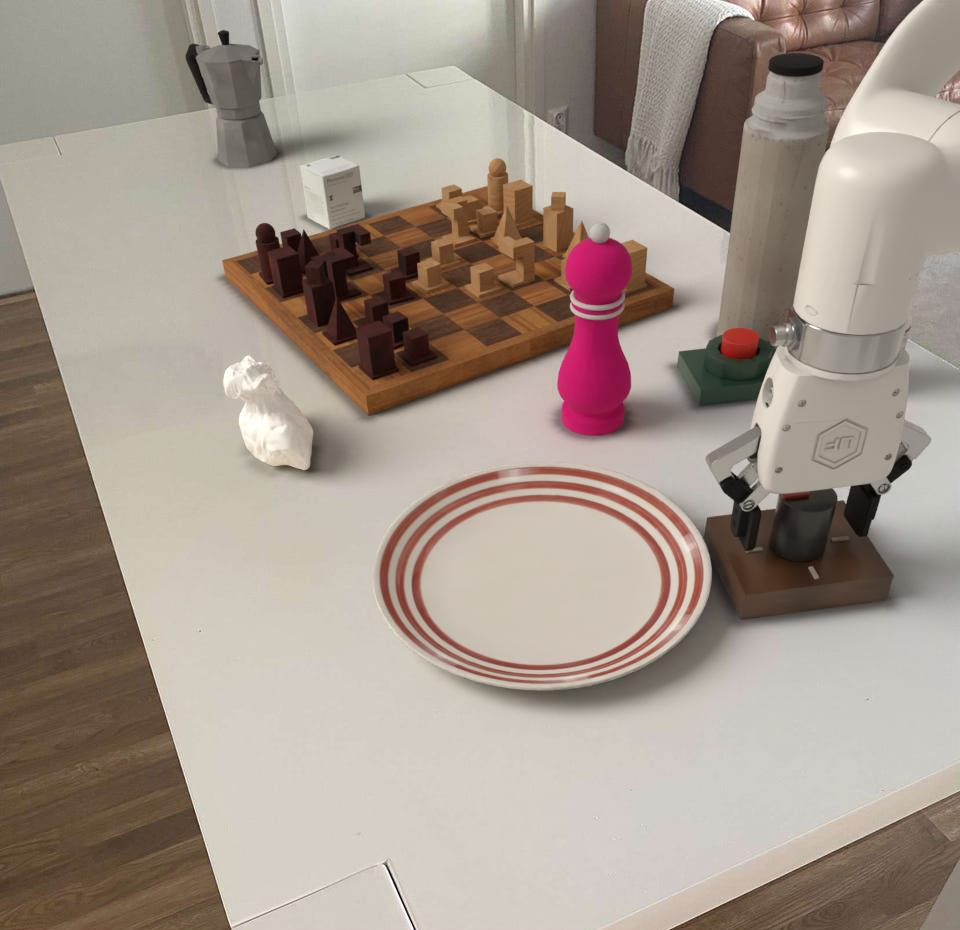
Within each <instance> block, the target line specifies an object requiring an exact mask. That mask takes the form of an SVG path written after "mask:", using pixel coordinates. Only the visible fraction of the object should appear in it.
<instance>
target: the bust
mask: <svg viewBox="0 0 960 930" xmlns="http://www.w3.org/2000/svg"><path fill="white" fill-rule="evenodd" d="M222 386H223V388H224V394H225V395H226V396H227V397H228V398H229V399H230V400H238V399H241V400H242V401H243V402H244V405H243V407H242V409H241V412H239V417H238V425H239V429H240V432H241V437H242V439H243V441H244V444H245V447H246V449H247V450H248V451H249V452H250V453H251V454H252V455H253V456H254V457H255V458H256V459H257V460H259V461H260V462H263V463H265V464H267V465H269V466H273V467H279V466H290V467H293V468H294V469H297V470H301V471H307V470H308V469H309V468H310V466H311V458H312V452H313V451H312V447H313V439H314V429H313V427H312V425H311V424H310V422H309V421H308V418H307V417H306V415H305V414H304V413H303V412H302V410H301V409H300V408H299V406H297V404H296V403H295V402H294V401H293V400H292V399H290V398H289V397H288V395H286V394H285V392H284V391H283V389H282V388H281V387H280V382H279V381H278V379H277V378H276V375H275V371H274V370H273V368H272V365H271V364H268V363H265V362H263V361H259V362H257V361H256V359H255V358H254V357H253V356H252V355H250V354H248V355H245V356H244V358H243V359H242V360H241V361H238V362H236V363H233V364H231V365H230V366H228V367H227V368H226V369H225V371H224V374H223V381H222Z"/></svg>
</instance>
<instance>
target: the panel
mask: <svg viewBox="0 0 960 930" xmlns="http://www.w3.org/2000/svg"><path fill="white" fill-rule="evenodd" d="M845 506H846V502H845V500H844V499H842V500H841V499H840V500H837V504H836V508H835V512H834V516H833V520H832V524H831V528H830V532H829V536H828V540H827V544H826V548H825V551H824V553H823V554H822V555H821V556H820V557H819V558H817V559H814V560H811V561H805V562H798V561H792V560H788V559H785V558H783V557H781V556H779V555H778V554H776V553H775V552H774V551H773V550H772V548H771V546H770V543H769V540H770V535H771V530H772V525H773V520H774V515H775V510H776V508H769V509H762V510H761V513H762V515H761V520H760V525H759V531H758V536H757V541H756V546H755V549H753V550H752V551H745V550H744V548H743V546H742V544H741V542H740V540H739V538H738V537H734V536H733V534H732V531H731V527H730V523H731V516H732V513H731V514H729V513H728V514H722V515H713V516H706V519H705V527H704V534H703V539H704V541H705V543H706V546H707V548H708V552H709V555H710V560H711V562H712V563H713V565H714V567H715V569H716V572H717V573H718V575H719V578H720V580H721V582H722V584H723V586H724V588H725V590H726V592H727V594H728V597H729V599H730V600H731V603H732V604H733V606H734V609H735V611H736V613H737V615H738V618H739V620H741V621H743V620H749V619H750V620H751V619H758V618H759V619H760V618H765V617H773V616H781V615H788V614H789V615H790V614H797V613H802V612H803V613H804V612H810V611H818V610H826V609H833V608H841V607H848V606H849V607H850V606H856V605H857V606H858V605H865V604H871V603H880V602H886V601H887V600H888V597H889V592H890V589H891V586H892V583H893V581H894V577H895V574H894V573H893V572H892V570H891V569H890V567H889V565H888V564H887V562H886V561H885V560H884V558H883V557H882V555H881V554H880V552H879V551H878V549H877V547H875V545H874V543H873V542H872V541H871V539H870V537H869V536H868V535H867V536H864V537H859V536H857V535H856V534H855V532H854V530H853V529H852V527H851V526H850V524H849V523H848V521H847V520H846V518H845V517H844V510H845Z"/></svg>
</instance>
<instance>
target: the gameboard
mask: <svg viewBox="0 0 960 930" xmlns="http://www.w3.org/2000/svg"><path fill="white" fill-rule="evenodd" d="M486 177H487V179H486V180H487V185H486V186H482V187H479V188H475V189H472V190H471V189H470V190H467V191H464V192H463V189H462V187H459V186H458V185H456V184H450V185H447V186H442V187H441V198H439V199H435V200H432V201H429V202H425V203H422V204H418V205H414V206H409V207H407V208H404V209H401V210H397V211H393V212H389V213H386V214H382V215H379V216H375V217H371V218H369V219H364V220H361V221H358V222H352V223H350V224H345V225H342V226H338V227H336V228H333V229H328V230H325V231H321V232H318V233H315V234H311V235H308V234H307V232H306V230H305V229H304V228H303V230H302V232H300V231H299V230H297V229H296V228H291V229H287V230H282V231H280V232H279V234H280V239H279V237H278V236H276V230H275V228H274V226H273V225H271V224H270V223H268V222H262V223H260V224H258V225H257V226H256V228H255V234H254V235H255V237H256V240H255V246H256V250H254V251H251V252H247V253H243V254H240V255H236V256H232V257H230V258H226V259H222V260H221V262H222V267H223V271H224V275H225V279H227V280H228V281H229V282H230V283H231V285H233V287H235V288H236V289H237V290H238V291H239V292H240V293H241V294H242V295H243V296H244V297H245V298H246V299H247V300H248V301H249V302H250V303H251V304H253V305H254V307H255V308H256V309H257V310H259V312H261V314H262V315H264V316H265V317H266V319H268V321H270V322H271V323H272V324H273V325H274V326H275V327H276V328H277V329H278V330H279V331H280V332H281V333H282V334H283V335H284V336H285V337H286V338H288V339H289V340H290V341H291V342H292V343H293V344H294V346H295V347H297V348H298V349H299V350H300V351H301V353H303V354H304V355H305V356H306V357H307V358H308V359H309V360H310V361H311V362H312V363H313V364H315V365H316V367H318V369H320V370H321V371H322V373H323V374H325V375H326V376H327V377H328V378H329V379H330V380H331V381H332V382H333V383H334V384H335V385H336V386H337V387H338V388H339V389H340V390H341V391H342V392H343V393H344V394H345V395H346V396H348V397H349V398H350V400H352V402H354V404H356V406H358V407H359V409H361V410H362V411H363V413H365V414H366V415H367V416H372V415H375V414H376V413H380V412H383V411H385V410H389V409H391V408H394V407H397V406H400V405H403V404H405V403H408V402H410V401H411V402H412V401H414V400H417V399H420V398H422V397H425V396H428V395H430V394H433V393H436V392H440V391H442V390H445V389H448V388H450V387H454V386H455V385H456V386H457V385H458V384H461V383H464V382H467V381H469V380H472V379H475V378H479V377H481V376H484V375H486V374H490V373H493V372H495V371H497V370H501V369H504V368H506V367H509V366H511V365H515V364H518V363H520V362H523V361H525V360H528V359H532V358H534V357H538V356H540V355H542V354H546V353H548V352H550V351H554V350H556V349H560V348H562V347H565V346H568V345H570V344H571V342H572V339H573V335H574V329H575V314H574V313H573V312H572V311H571V309H570V303H571V300H570V294H571V292H572V291H573V290H572V288H571V287H570V286H569V284H568V282H567V280H566V276H565V267H566V261H567V258H568V255H569V253H570V252H571V250H572V249H573V248H574V247H575V246H576V245H577V244H578V243H580V242H581V241H583V240H585V239H588V238H590V236H589V233H588V232H587V229H586V227H585V225H584V222H583V220H581V221H580V223H579V225H578V227H577V229H576V231H574V207H571V206H569V205H567V192H566V191H552V192H551V196H550V204H551V205H548V206H545V207H543V210H542V211H543V214H542V213H541V212H539V211H537V210H535V209H534V202H533V199H534V198H533V195H534V193H533V192H534V191H533V188H534V187H533V185H532V184H531V183H528V182H526V181H525V180H523V179H518V180H514V181H510V182H509V173H508V172H507V164H506V162H505V161H504V159H502V158H499V157H497V158H493V159H492V160H491V161H490V162H489V163H488V173H487V176H486ZM280 240H281V242H280ZM620 243H621V244H622V245H623V246H624V247H625V248H626V249H627V251H628V253H629V254H630V257H631V261H632V276H631V279H630V282H629V283H628V285H627V286H626V288H625V289H624V290H623V292H624V294H625V299H624V305H625V306H624V310H623V311H622V312H621V313H620V314H619V320H618V327H621V326H625V325H627V324H630V323H632V322H635V321H638V320H640V319H643V318H646V317H649V316H652V315H655V314H657V313H660V312H664V311H665V310H668V309H671V308H673V306H674V298H675V297H674V296H675V288H674V287H672V286H671V285H669V284H667V283H665V282H663V281H662V280H660V279H658V278H656V277H655V276H652V275H651V274H650V273H648V272H646V271H647V259H648V247H647V246H645V245H643V244H641V243H640V242H638V241H636V240H635V239H630V240H627V241H623V242H620Z"/></svg>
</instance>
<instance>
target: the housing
mask: <svg viewBox="0 0 960 930" xmlns="http://www.w3.org/2000/svg"><path fill="white" fill-rule="evenodd" d="M722 337H723V335H720V336H718V337H717V336H716V337H714V338H712V339H710V340H709V341H708V342H707V345H706V347H705V348H696V349H687V350H686V349H685V350H679V351H678V355H677V364H676V369H677V370H678V372H679V374H680V375H681V377H682V379H683V380H684V382H685V384H686V386H687V387H688V390H690V393H691V395H692V396H693V398H694V400H695V402H696V404H697V406H698V407H704V406H705V407H706V406H712V405H720V404H721V405H722V404H729V403H731V404H732V403H738V402H739V403H740V402H747V401H755V400H756V401H757V400H758V396H759V393H760V390H761V387H762V384H763V381H764V378H765V375H766V373H767V370H768V368H769V365H770V363H771V360H772V358H773V356H774V354H775V352H776V349H775V347H774V346H772V345H771V344H770V341H765V340H763V339H761V338H759V341H758V347H757V353H756V355H755V356H754V357H752V358H750V359H741V360H740V359H734V358H729V357H727V356H725V355H723V354H722V353H721V344H722Z"/></svg>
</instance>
